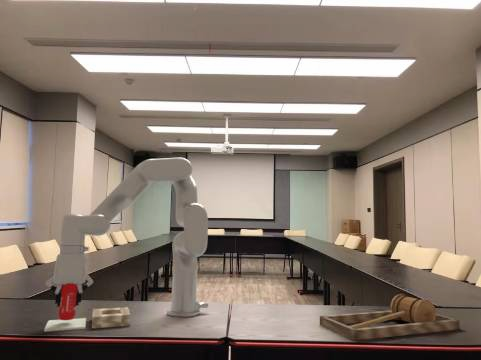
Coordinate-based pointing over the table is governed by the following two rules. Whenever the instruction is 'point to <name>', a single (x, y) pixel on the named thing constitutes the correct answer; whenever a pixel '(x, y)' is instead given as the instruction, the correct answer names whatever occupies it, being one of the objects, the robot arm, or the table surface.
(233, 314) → the table surface
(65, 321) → the coaster board
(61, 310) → the beverage can
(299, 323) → the table surface
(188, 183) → the robot arm
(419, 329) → the gavel rest frame
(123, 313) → the can holder
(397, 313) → the mallet
